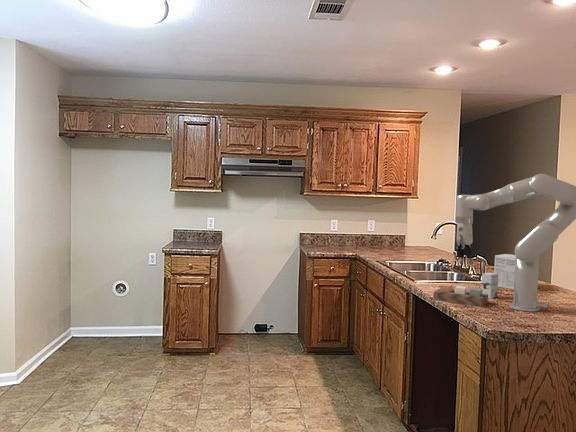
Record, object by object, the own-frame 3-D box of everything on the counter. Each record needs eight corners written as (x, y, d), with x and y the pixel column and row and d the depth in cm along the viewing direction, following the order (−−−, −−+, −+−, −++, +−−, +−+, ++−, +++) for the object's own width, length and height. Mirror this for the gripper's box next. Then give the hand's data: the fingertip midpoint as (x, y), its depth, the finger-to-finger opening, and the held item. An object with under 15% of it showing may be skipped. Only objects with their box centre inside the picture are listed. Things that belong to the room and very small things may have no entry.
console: (487, 302, 229) (488, 294, 229) (481, 307, 219) (481, 298, 219) (441, 295, 242) (442, 287, 242) (433, 299, 232) (433, 291, 232)
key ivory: (467, 295, 231) (467, 287, 231) (464, 297, 227) (464, 288, 227) (457, 294, 234) (457, 285, 234) (454, 295, 230) (454, 287, 230)
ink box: (488, 294, 248) (489, 271, 247) (497, 296, 244) (498, 273, 244) (480, 297, 242) (481, 273, 241) (490, 298, 238) (491, 275, 238)
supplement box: (516, 290, 262) (518, 258, 261) (492, 286, 272) (494, 255, 271) (527, 287, 271) (528, 256, 270) (503, 283, 281) (505, 253, 280)
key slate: (482, 297, 227) (482, 289, 227) (479, 299, 223) (480, 290, 223) (472, 296, 230) (472, 287, 230) (469, 297, 226) (469, 289, 226)
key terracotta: (452, 293, 235) (452, 285, 235) (449, 294, 232) (449, 286, 231) (442, 291, 238) (443, 283, 238) (439, 293, 234) (440, 285, 234)
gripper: (466, 221, 221) (466, 258, 222) (477, 220, 235) (477, 255, 235) (450, 221, 226) (449, 257, 226) (462, 219, 239) (461, 254, 240)
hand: (463, 256), depth 231 cm, fingers open, 9 cm apart
